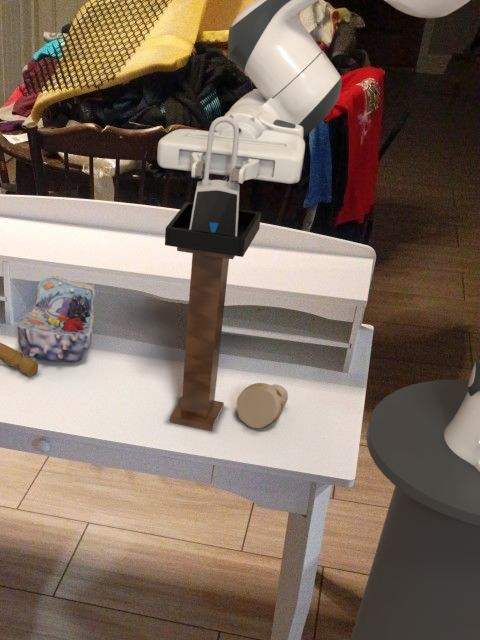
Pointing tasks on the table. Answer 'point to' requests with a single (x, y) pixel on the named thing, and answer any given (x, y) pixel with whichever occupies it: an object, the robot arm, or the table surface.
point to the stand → (203, 340)
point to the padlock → (217, 193)
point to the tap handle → (18, 360)
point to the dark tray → (212, 242)
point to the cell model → (58, 321)
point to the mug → (261, 404)
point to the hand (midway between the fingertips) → (217, 174)
